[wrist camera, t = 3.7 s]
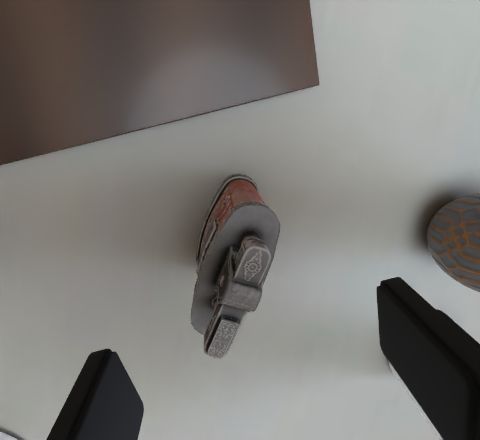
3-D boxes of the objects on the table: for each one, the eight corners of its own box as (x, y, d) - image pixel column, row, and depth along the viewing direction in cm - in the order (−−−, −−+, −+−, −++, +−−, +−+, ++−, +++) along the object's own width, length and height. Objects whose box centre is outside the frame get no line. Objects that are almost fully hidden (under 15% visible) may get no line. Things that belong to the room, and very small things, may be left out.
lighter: (223, 167, 20) (234, 212, 11) (266, 183, 21) (311, 238, 12) (188, 263, 23) (172, 367, 13) (228, 274, 24) (240, 381, 14)
